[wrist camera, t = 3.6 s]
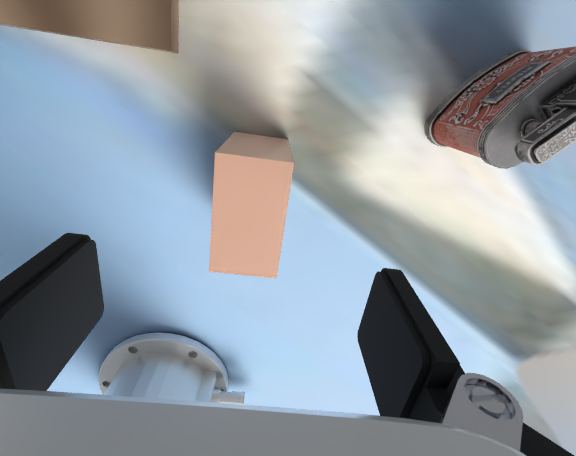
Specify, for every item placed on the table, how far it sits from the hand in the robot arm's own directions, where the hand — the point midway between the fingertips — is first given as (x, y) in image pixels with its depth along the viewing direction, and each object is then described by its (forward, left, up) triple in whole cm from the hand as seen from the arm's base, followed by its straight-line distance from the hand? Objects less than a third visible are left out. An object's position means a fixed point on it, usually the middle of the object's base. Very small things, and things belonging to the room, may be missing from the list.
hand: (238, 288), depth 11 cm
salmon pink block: (0, +1, -15) cm, 15 cm away
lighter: (-15, -7, -15) cm, 23 cm away
